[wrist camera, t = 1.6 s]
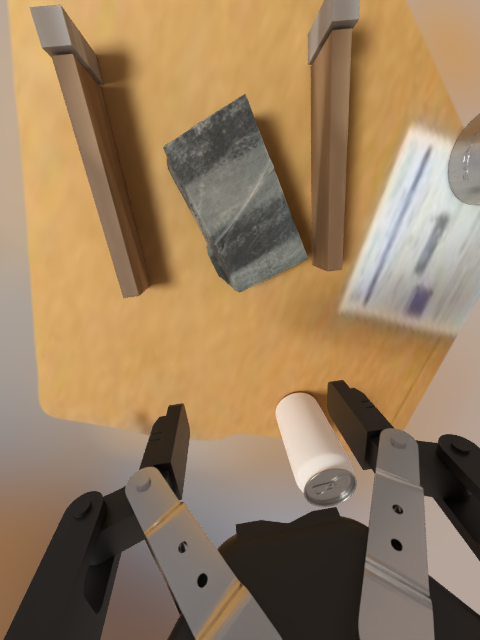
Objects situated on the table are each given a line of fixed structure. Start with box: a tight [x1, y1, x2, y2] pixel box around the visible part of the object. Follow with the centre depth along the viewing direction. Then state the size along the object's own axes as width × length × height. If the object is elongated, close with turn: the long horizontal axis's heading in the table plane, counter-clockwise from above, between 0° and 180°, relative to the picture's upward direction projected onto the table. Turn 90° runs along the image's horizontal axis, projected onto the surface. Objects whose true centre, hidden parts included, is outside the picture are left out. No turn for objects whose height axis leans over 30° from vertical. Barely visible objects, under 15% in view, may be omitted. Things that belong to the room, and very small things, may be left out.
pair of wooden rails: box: [30, 0, 360, 298], centre depth 23 cm, size 22×20×5 cm
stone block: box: [164, 94, 307, 293], centre depth 24 cm, size 9×14×5 cm, turn 27°
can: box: [276, 393, 357, 507], centre depth 31 cm, size 6×6×12 cm
